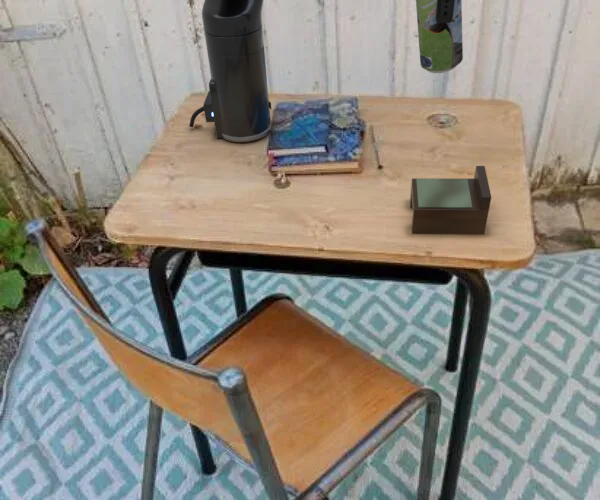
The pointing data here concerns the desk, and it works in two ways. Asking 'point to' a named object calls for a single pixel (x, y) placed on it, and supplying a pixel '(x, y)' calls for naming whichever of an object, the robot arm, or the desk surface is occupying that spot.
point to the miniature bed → (450, 205)
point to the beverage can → (439, 37)
